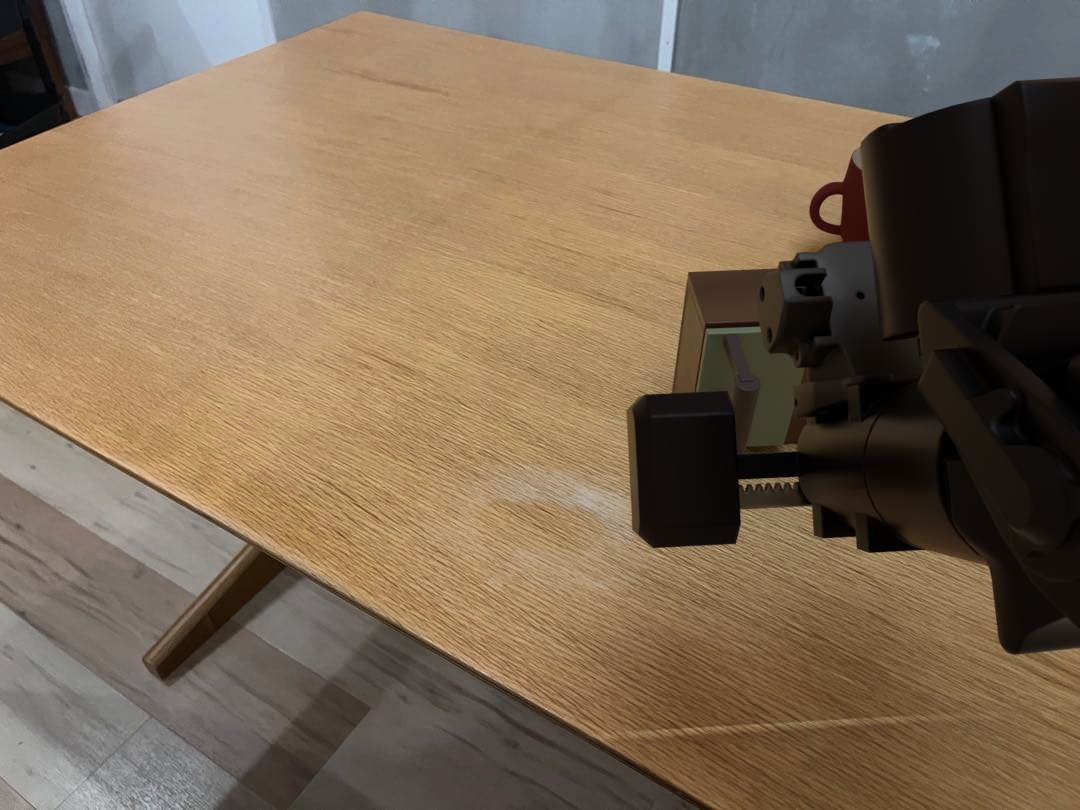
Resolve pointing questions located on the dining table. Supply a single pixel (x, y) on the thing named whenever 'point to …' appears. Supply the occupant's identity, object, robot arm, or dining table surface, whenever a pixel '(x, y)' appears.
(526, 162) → the dining table surface
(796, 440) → the cabinet
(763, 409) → the door
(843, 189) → the mug
